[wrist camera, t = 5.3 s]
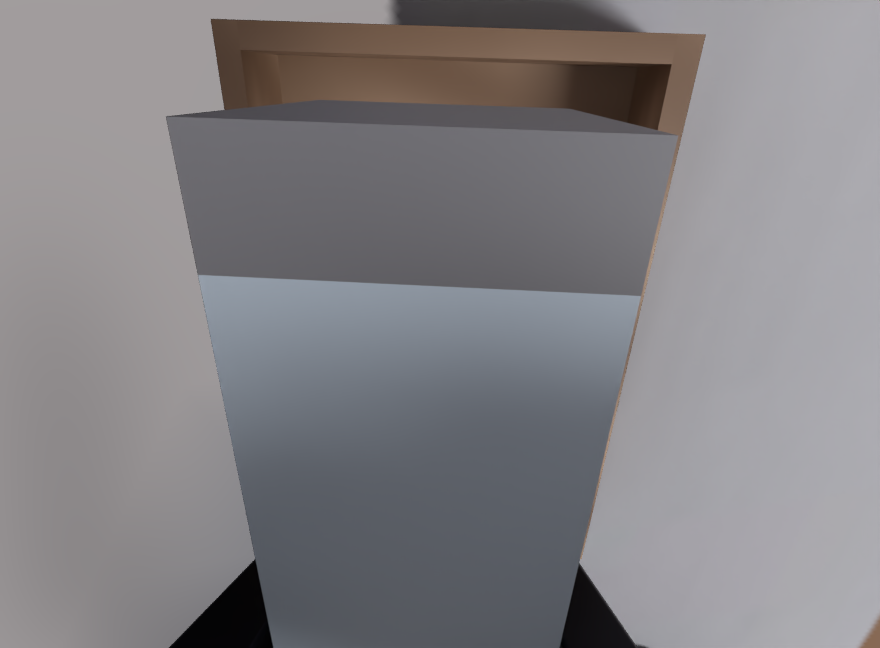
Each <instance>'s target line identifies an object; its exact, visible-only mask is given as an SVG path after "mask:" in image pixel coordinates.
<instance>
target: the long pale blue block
mask: <svg viewBox="0 0 880 648" xmlns="http://www.w3.org/2000/svg"><path fill="white" fill-rule="evenodd" d="M166 120H167V124H168V129H169V134H170V139H171V144H172V149H173V154H174V159H175V164H176V169H177V174H178V179H179V184H180V189H181V194H182V199H183V203H184V209H185V213H186V218H187V223H188V228H189V233H190V238H191V243H192V248H193V253H194V258H195V263H196V268H197V273H198V277H199V282H200V287H201V292H202V298H203V302H204V307H205V312H206V317H207V322H208V327H209V332H210V337H211V342H212V347H213V352H214V357H215V361H216V367H217V372H218V376H219V382H220V387H221V391H222V396H223V401H224V406H225V411H226V416H227V421H228V426H229V430H230V436H231V440H232V445H233V451H234V456H235V461H236V466H237V471H238V475H239V480H240V485H241V490H242V495H243V500H244V504H245V510H246V515H247V520H248V525H249V530H250V535H251V540H252V544H253V549H254V555H255V560H256V564H257V569H258V574H259V579H260V584H261V589H262V594H263V599H264V604H265V609H266V614H267V619H268V624H269V629H270V634H271V639H272V644H273V648H559V647H560V643H561V639H562V634H563V630H564V626H565V621H566V617H567V613H568V609H569V604H570V600H571V596H572V591H573V587H574V583H575V578H576V574H577V570H578V566H579V561H580V557H581V553H582V548H583V544H584V540H585V535H586V531H587V527H588V522H589V518H590V514H591V510H592V505H593V501H594V497H595V492H596V488H597V484H598V479H599V475H600V471H601V466H602V462H603V458H604V454H605V449H606V445H607V441H608V436H609V432H610V428H611V423H612V419H613V415H614V410H615V406H616V402H617V398H618V393H619V389H620V385H621V380H622V376H623V372H624V367H625V363H626V359H627V354H628V350H629V346H630V342H631V337H632V333H633V329H634V324H635V320H636V316H637V311H638V307H639V303H640V298H641V294H642V290H643V286H644V281H645V277H646V273H647V268H648V264H649V260H650V255H651V251H652V247H653V242H654V238H655V234H656V230H657V225H658V221H659V217H660V212H661V208H662V204H663V199H664V195H665V191H666V187H667V182H668V178H669V174H670V169H671V165H672V161H673V156H674V152H675V148H676V143H677V139H678V135H674V134H670V133H666V132H662V131H658V130H654V129H650V128H646V127H642V126H638V125H634V124H630V123H626V122H622V121H618V120H613V119H609V118H605V117H601V116H597V115H593V114H589V113H585V112H581V111H577V110H573V109H564V108H536V107H507V106H479V105H451V104H423V103H395V102H367V101H338V100H313V101H304V102H295V103H285V104H276V105H267V106H258V107H249V108H239V109H230V110H221V111H212V112H203V113H195V114H194V113H193V114H184V115H175V116H167V117H166Z"/></svg>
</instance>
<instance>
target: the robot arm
mask: <svg viewBox="0 0 880 648" xmlns="http://www.w3.org/2000/svg"><path fill="white" fill-rule="evenodd" d="M169 648H273V644H272V639H271V634H270V629H269V624H268V619H267V614H266V609H265V604H264V599H263V594H262V589H261V584H260V579H259V574H258V569H257V564H256V560H254V561H253V562H252V563H251V564H250V565H249V566H248V567H247V568H246V569H245V570H244V571H243V572H242V573H241V574H240V575H239V576H238V577H237V578H236V579H235V580H234V581H233V582H232V583H231V584H230V585H229V586H228V587H227V589H226V590H225V591H224V592H223V593H222V594H221V595H220V596H219V597H218V598H217V599H216V600H215V601H214V602H213V603H212V604H211V605H210V606H209V607H208V608H207V609H206V610H205V611H204V612H203V613H202V614H201V615H200V616H199V617H198V618H197V619H196V621H194V622H193V624H192V625H191V626H190V627H189V628H188V629H187V630H186V631H185V632H184V633H183V634H182V635H181V636H180V637H179V638H178V639H177V640H176V641H175V642H174V643H173V644H172V645H171V646H170V647H169ZM559 648H637V646H636V645H635V643H634V642H633V641H632V639H631V638H630V636H629V635H628V633H627V632H626V630H625V629H624V627H623V626H622V625H621V623H620V622H619V620H618V619H617V617H616V616H615V614H614V613H613V611H612V610H611V609H610V607H609V606H608V604H607V603H606V601H605V600H604V598H603V597H602V595H601V594H600V593H599V591H598V590H597V588H596V587H595V585H594V584H593V582H592V581H591V579H590V578H589V577H588V575H587V574H586V572H585V571H584V569H583V568H582V566H581V565H580V563H579V566H578V570H577V574H576V578H575V583H574V587H573V591H572V596H571V600H570V604H569V609H568V613H567V617H566V621H565V626H564V630H563V634H562V639H561V643H560V647H559Z"/></svg>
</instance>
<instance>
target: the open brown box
mask: <svg viewBox="0 0 880 648" xmlns="http://www.w3.org/2000/svg"><path fill="white" fill-rule="evenodd" d="M211 24H212V31H213V37H214V43H215V50H216V57H217V63H218V70H219V77H220V83H221V90H222V96H223V102H224V109H225V110H230V109H239V108H249V107H258V106H267V105H276V104H285V103H295V102H304V101H313V100H338V101H367V102H395V103H423V104H451V105H479V106H507V107H536V108H564V109H573V110H577V111H581V112H585V113H589V114H593V115H597V116H601V117H605V118H609V119H613V120H618V121H622V122H626V123H630V124H634V125H638V126H642V127H646V128H650V129H654V130H658V131H662V132H666V133H670V134H674V135H678V139H677V143H676V148H675V152H674V156H673V161H672V165H671V169H670V174H669V178H668V182H667V187H666V191H665V195H664V199H663V204H662V208H661V212H660V217H659V221H658V225H657V230H656V234H655V238H654V242H653V247H652V251H651V255H650V260H649V264H648V268H647V273H646V277H645V281H644V286H643V290H642V294H641V298H640V303H639V307H638V311H637V316H636V320H635V324H634V329H633V333H632V337H631V342H630V346H629V350H628V354H627V359H626V363H625V367H624V372H623V376H622V380H621V385H620V389H619V393H618V398H617V402H616V406H615V410H614V415H613V419H612V423H611V428H610V432H609V436H608V441H607V445H606V449H605V454H604V458H603V462H602V466H601V471H600V475H599V479H598V484H597V488H596V492H595V497H594V501H593V505H592V510H591V514H590V518H589V522H588V527H587V531H586V535H585V540H584V544H583V548H582V553H581V557H580V559H582V554H583V550H584V546H585V542H586V538H587V533H588V529H589V525H590V521H591V516H592V512H593V508H594V504H595V500H596V495H597V491H598V487H599V483H600V478H601V474H602V470H603V466H604V462H605V457H606V453H607V449H608V445H609V441H610V436H611V432H612V428H613V424H614V419H615V415H616V411H617V407H618V403H619V398H620V394H621V390H622V386H623V381H624V377H625V373H626V369H627V365H628V360H629V356H630V352H631V348H632V344H633V339H634V335H635V331H636V327H637V322H638V318H639V314H640V310H641V306H642V301H643V297H644V293H645V289H646V285H647V280H648V276H649V272H650V268H651V263H652V259H653V255H654V251H655V247H656V242H657V238H658V234H659V230H660V225H661V221H662V217H663V213H664V209H665V204H666V200H667V196H668V192H669V188H670V183H671V179H672V175H673V171H674V166H675V162H676V158H677V154H678V150H679V145H680V141H681V137H682V133H683V128H684V124H685V120H686V116H687V112H688V107H689V103H690V99H691V95H692V91H693V86H694V82H695V78H696V74H697V69H698V65H699V61H700V57H701V53H702V48H703V44H704V40H705V36H706V35H703V34H671V33H640V32H608V31H576V30H544V29H513V28H481V27H449V26H417V25H386V24H354V23H322V22H321V23H320V22H290V21H257V20H227V19H211Z"/></svg>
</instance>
